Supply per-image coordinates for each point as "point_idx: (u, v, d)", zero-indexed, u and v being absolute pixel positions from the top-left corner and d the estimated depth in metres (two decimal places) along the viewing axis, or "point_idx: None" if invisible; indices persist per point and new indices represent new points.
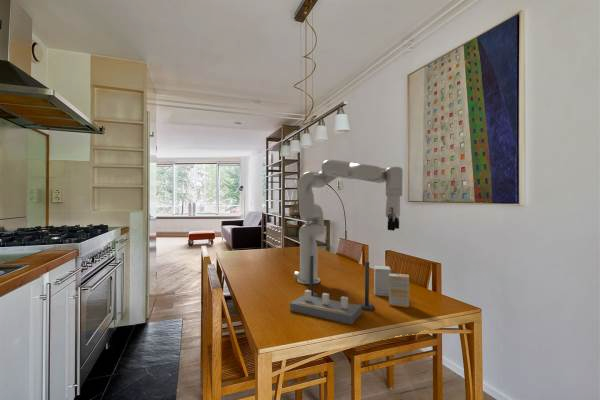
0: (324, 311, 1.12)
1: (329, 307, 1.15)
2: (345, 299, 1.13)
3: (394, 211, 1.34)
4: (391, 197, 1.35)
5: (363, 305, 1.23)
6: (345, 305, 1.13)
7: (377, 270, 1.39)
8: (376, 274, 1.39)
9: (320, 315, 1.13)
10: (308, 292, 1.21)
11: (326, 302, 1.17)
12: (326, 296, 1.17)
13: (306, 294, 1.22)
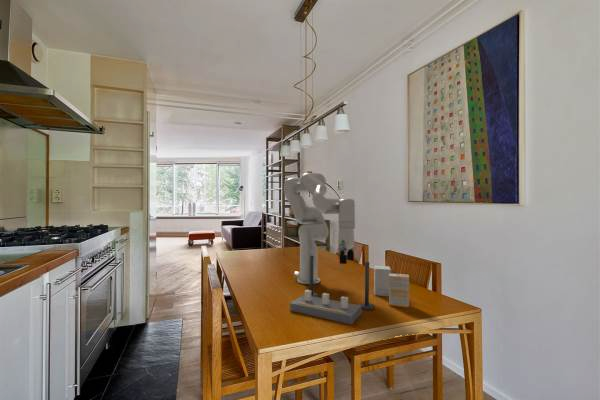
0: (324, 311, 1.12)
1: (329, 307, 1.15)
2: (345, 299, 1.13)
3: (345, 244, 1.33)
4: (342, 230, 1.34)
5: (363, 305, 1.23)
6: (345, 305, 1.13)
7: (377, 270, 1.39)
8: (376, 274, 1.39)
9: (320, 315, 1.13)
10: (308, 292, 1.21)
11: (326, 302, 1.17)
12: (326, 296, 1.17)
13: (306, 294, 1.22)
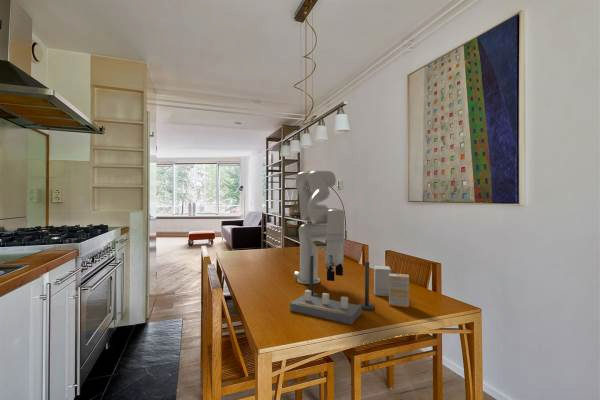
0: (324, 311, 1.12)
1: (329, 307, 1.15)
2: (345, 299, 1.13)
3: (333, 260, 1.21)
4: (330, 243, 1.22)
5: (363, 305, 1.23)
6: (345, 305, 1.13)
7: (377, 270, 1.39)
8: (376, 274, 1.39)
9: (320, 315, 1.13)
10: (308, 292, 1.21)
11: (326, 302, 1.17)
12: (326, 296, 1.17)
13: (306, 294, 1.22)
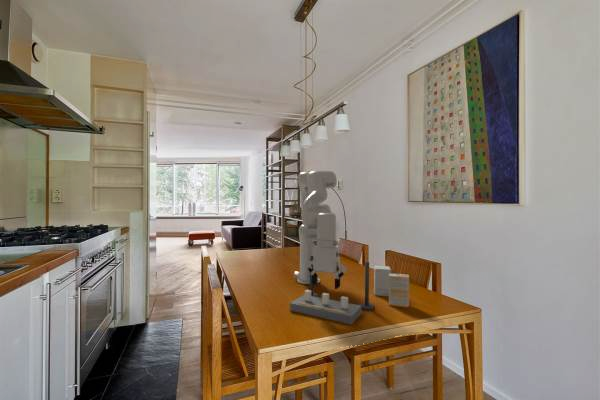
0: (324, 311, 1.12)
1: (329, 307, 1.15)
2: (345, 299, 1.13)
3: None
4: None
5: (363, 305, 1.23)
6: (345, 305, 1.13)
7: (377, 270, 1.39)
8: (376, 274, 1.39)
9: (320, 315, 1.13)
10: (308, 292, 1.21)
11: (326, 302, 1.17)
12: (326, 296, 1.17)
13: (306, 294, 1.22)
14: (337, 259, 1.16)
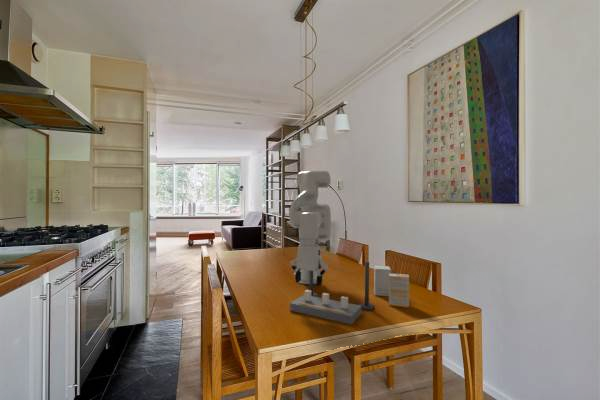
0: (324, 311, 1.12)
1: (329, 307, 1.15)
2: (345, 299, 1.13)
3: None
4: None
5: (363, 305, 1.23)
6: (345, 305, 1.13)
7: (377, 270, 1.39)
8: (376, 274, 1.39)
9: (320, 315, 1.13)
10: (308, 292, 1.21)
11: (326, 302, 1.17)
12: (326, 296, 1.17)
13: (306, 294, 1.22)
14: (319, 257, 1.20)
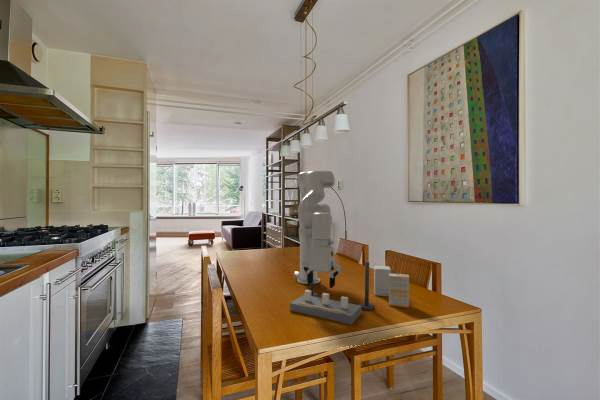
0: (324, 311, 1.12)
1: (329, 307, 1.15)
2: (345, 299, 1.13)
3: None
4: None
5: (363, 305, 1.23)
6: (345, 305, 1.13)
7: (377, 270, 1.39)
8: (376, 274, 1.39)
9: (320, 315, 1.13)
10: (308, 292, 1.21)
11: (326, 302, 1.17)
12: (326, 296, 1.17)
13: (306, 294, 1.22)
14: (332, 258, 1.17)
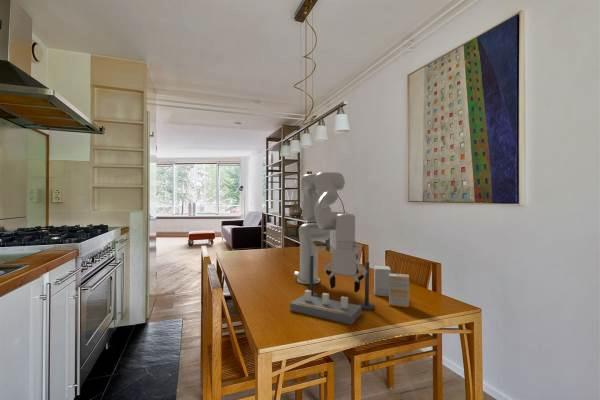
0: (324, 311, 1.12)
1: (329, 307, 1.15)
2: (345, 299, 1.13)
3: None
4: None
5: (363, 305, 1.23)
6: (345, 305, 1.13)
7: (377, 270, 1.39)
8: (376, 274, 1.39)
9: (320, 315, 1.13)
10: (308, 292, 1.21)
11: (326, 302, 1.17)
12: (326, 296, 1.17)
13: (306, 294, 1.22)
14: (357, 261, 1.12)
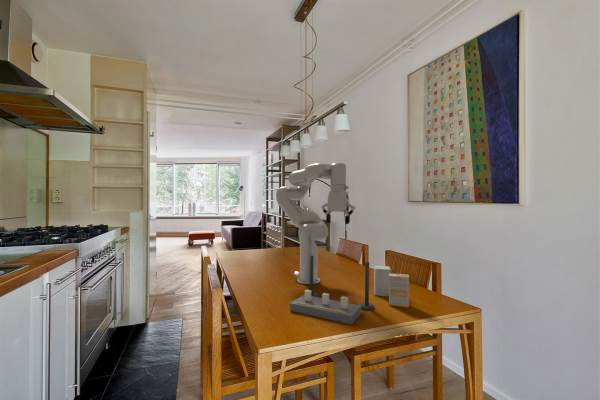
0: (324, 311, 1.12)
1: (329, 307, 1.15)
2: (345, 299, 1.13)
3: None
4: None
5: (363, 305, 1.23)
6: (345, 305, 1.13)
7: (377, 270, 1.39)
8: (376, 274, 1.39)
9: (320, 315, 1.13)
10: (308, 292, 1.21)
11: (326, 302, 1.17)
12: (326, 296, 1.17)
13: (306, 294, 1.22)
14: (347, 200, 1.42)
